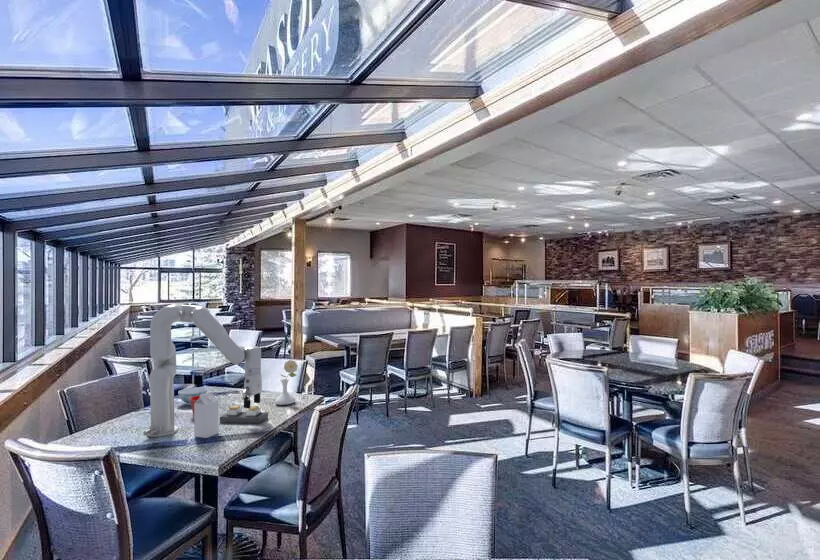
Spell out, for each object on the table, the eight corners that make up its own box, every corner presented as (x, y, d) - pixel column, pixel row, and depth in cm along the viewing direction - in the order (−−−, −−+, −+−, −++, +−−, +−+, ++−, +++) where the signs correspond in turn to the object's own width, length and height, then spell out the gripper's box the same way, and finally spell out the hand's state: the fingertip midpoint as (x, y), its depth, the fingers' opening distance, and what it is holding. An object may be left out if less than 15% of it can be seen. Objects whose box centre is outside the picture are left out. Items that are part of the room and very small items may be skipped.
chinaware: (174, 404, 245) (174, 390, 245) (200, 398, 256) (200, 385, 256) (184, 408, 235) (184, 395, 235) (211, 402, 246) (211, 389, 246)
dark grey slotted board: (259, 424, 206) (259, 418, 206) (219, 422, 209) (219, 416, 209) (268, 418, 215) (268, 412, 215) (230, 417, 218) (229, 411, 218)
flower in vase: (273, 407, 234) (273, 362, 235) (275, 401, 246) (274, 359, 246) (298, 405, 238) (297, 361, 238) (298, 400, 249) (297, 357, 249)
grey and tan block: (255, 422, 208) (255, 408, 208) (246, 422, 209) (246, 408, 209) (260, 419, 213) (260, 405, 213) (251, 419, 214) (251, 405, 214)
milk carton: (194, 436, 190) (193, 394, 190) (207, 431, 197) (206, 391, 197) (206, 438, 188) (205, 396, 188) (218, 433, 194) (218, 392, 194)
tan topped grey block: (236, 422, 210) (236, 408, 210) (227, 421, 211) (227, 407, 211) (241, 419, 215) (241, 405, 215) (232, 418, 216) (232, 405, 216)
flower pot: (193, 420, 214) (192, 401, 214) (188, 415, 223) (188, 396, 223) (215, 415, 221) (215, 397, 221) (209, 411, 229) (209, 393, 229)
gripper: (250, 374, 202) (250, 410, 202) (267, 368, 220) (267, 401, 219) (236, 374, 203) (235, 409, 203) (254, 367, 221) (253, 400, 220)
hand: (252, 405), depth 211 cm, fingers open, 9 cm apart
